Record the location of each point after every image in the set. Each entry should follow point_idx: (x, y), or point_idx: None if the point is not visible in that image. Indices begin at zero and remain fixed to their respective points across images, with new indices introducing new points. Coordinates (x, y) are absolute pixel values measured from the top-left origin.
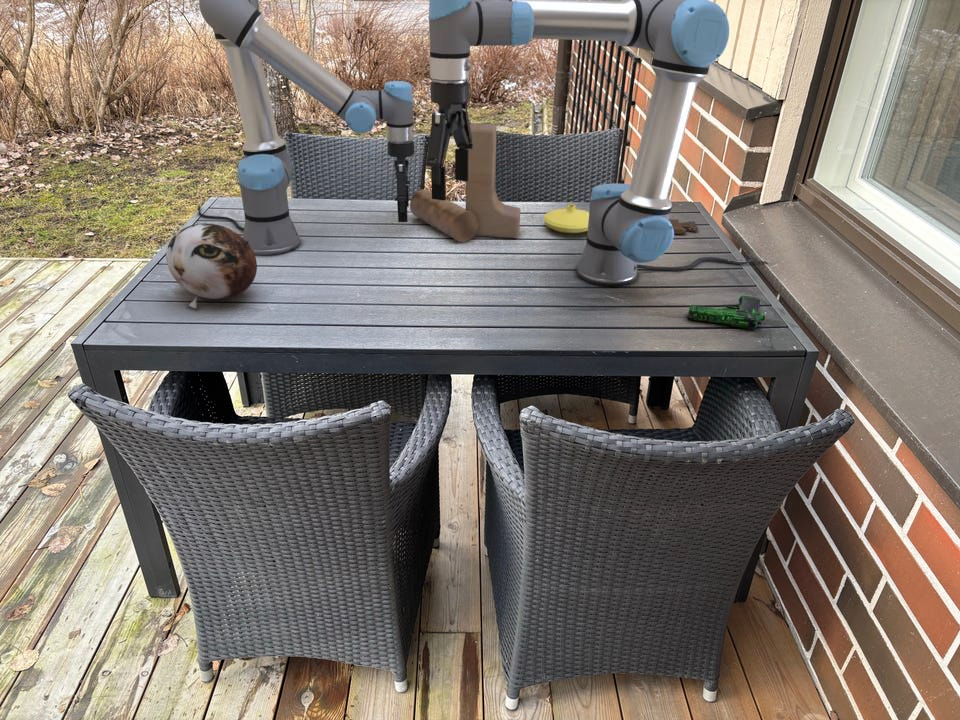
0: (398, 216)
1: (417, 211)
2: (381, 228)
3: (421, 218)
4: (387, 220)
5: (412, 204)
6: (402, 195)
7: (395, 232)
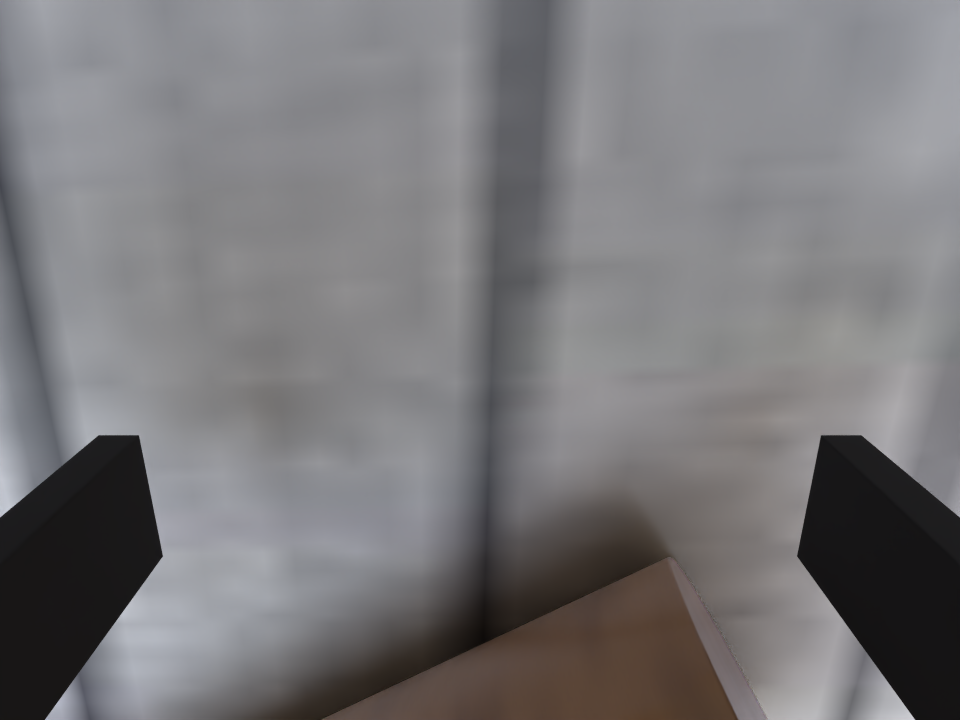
0: (39, 493)
1: (480, 690)
2: (345, 137)
3: (449, 662)
4: (665, 207)
5: (631, 683)
6: (928, 610)
7: (210, 331)
